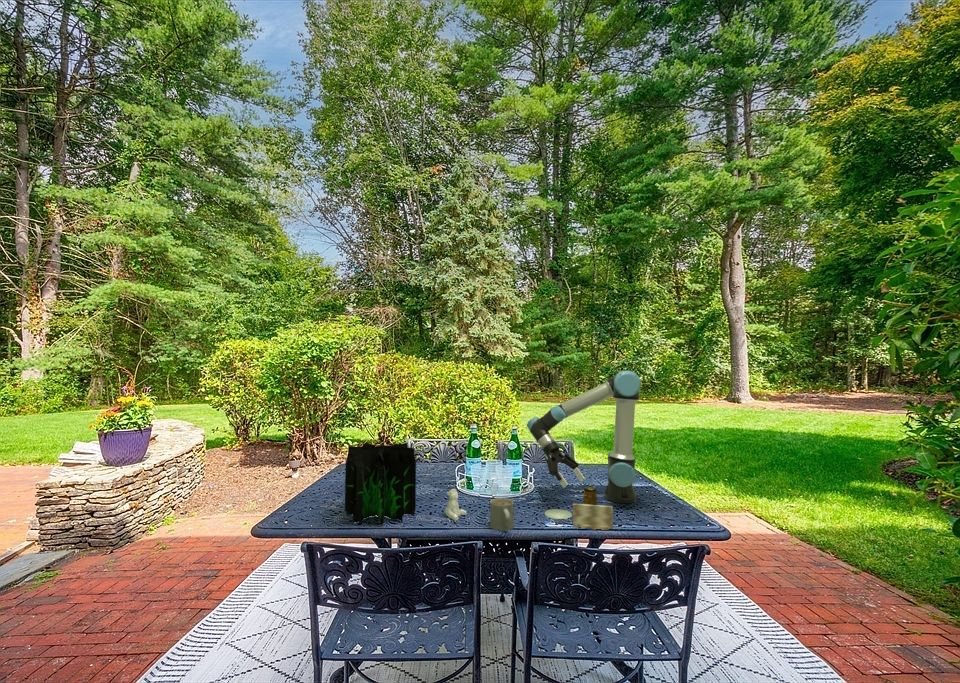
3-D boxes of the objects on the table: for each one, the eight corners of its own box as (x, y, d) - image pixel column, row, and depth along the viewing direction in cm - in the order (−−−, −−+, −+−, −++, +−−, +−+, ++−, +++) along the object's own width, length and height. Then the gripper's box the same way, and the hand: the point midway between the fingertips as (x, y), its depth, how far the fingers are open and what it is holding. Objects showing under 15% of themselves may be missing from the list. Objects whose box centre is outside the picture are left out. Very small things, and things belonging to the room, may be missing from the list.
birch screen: (573, 527, 180) (572, 505, 181) (573, 524, 184) (572, 502, 184) (613, 530, 177) (612, 508, 177) (612, 527, 181) (612, 505, 181)
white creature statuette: (456, 521, 186) (456, 493, 187) (439, 518, 191) (440, 490, 191) (467, 515, 195) (467, 488, 195) (451, 511, 199) (451, 485, 199)
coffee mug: (489, 521, 186) (489, 498, 187) (512, 521, 187) (512, 497, 187) (491, 534, 173) (491, 508, 173) (516, 533, 173) (516, 508, 174)
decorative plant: (358, 532, 175) (359, 456, 176) (339, 510, 200) (340, 444, 201) (423, 518, 190) (424, 449, 191) (398, 500, 215) (399, 439, 217)
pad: (555, 508, 204) (555, 507, 204) (577, 515, 195) (577, 514, 195) (539, 514, 196) (539, 513, 196) (561, 521, 187) (561, 520, 187)
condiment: (587, 511, 200) (587, 485, 200) (604, 516, 194) (604, 489, 194) (579, 515, 194) (579, 488, 195) (596, 520, 188) (596, 492, 189)
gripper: (560, 447, 223) (585, 482, 211) (527, 453, 206) (553, 493, 194) (568, 438, 219) (594, 473, 207) (536, 444, 202) (562, 483, 190)
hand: (574, 483), depth 201 cm, fingers open, 13 cm apart
